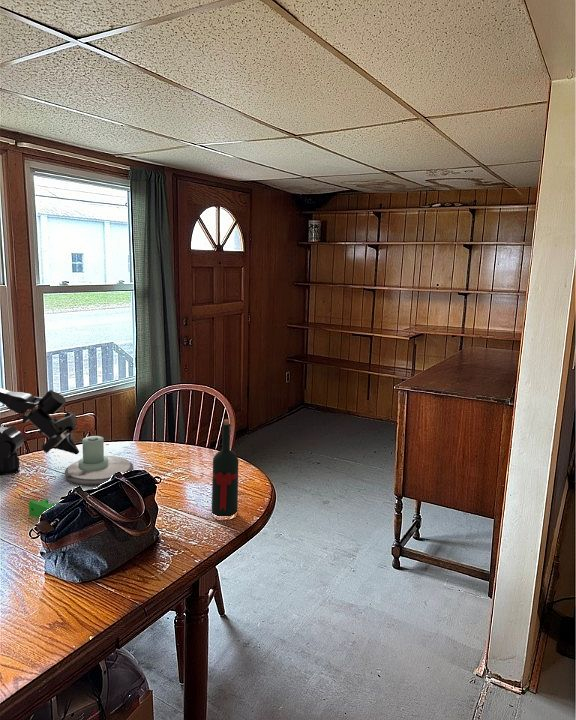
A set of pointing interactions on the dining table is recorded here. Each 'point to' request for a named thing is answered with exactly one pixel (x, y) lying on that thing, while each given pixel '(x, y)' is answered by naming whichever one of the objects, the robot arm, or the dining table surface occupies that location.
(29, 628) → the dining table surface
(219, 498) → the wine bottle
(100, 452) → the sage green cylinder
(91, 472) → the turntable
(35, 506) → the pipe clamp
